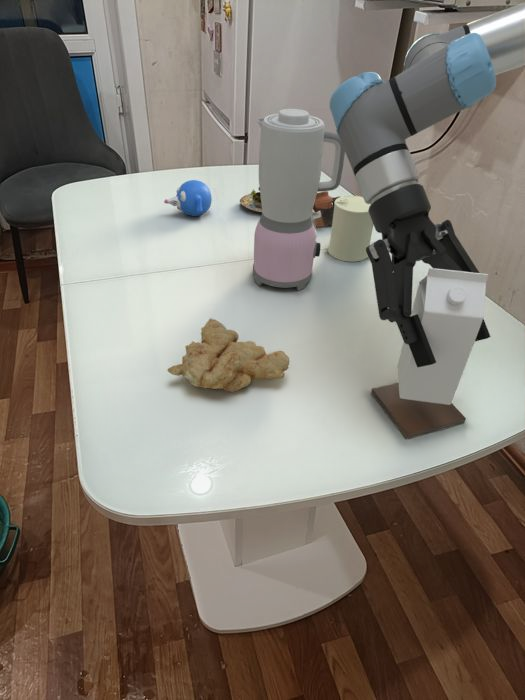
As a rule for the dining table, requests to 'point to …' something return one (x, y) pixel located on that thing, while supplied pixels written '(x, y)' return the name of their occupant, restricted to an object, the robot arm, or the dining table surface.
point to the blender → (291, 196)
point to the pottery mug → (324, 209)
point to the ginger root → (228, 360)
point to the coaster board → (416, 412)
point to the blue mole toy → (192, 198)
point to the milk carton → (443, 333)
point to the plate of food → (252, 201)
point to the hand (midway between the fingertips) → (454, 351)
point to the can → (350, 229)
